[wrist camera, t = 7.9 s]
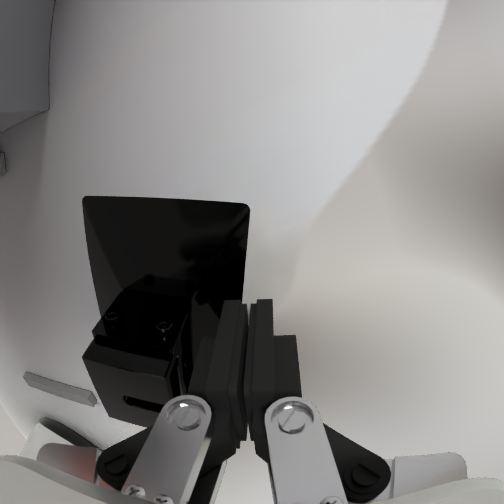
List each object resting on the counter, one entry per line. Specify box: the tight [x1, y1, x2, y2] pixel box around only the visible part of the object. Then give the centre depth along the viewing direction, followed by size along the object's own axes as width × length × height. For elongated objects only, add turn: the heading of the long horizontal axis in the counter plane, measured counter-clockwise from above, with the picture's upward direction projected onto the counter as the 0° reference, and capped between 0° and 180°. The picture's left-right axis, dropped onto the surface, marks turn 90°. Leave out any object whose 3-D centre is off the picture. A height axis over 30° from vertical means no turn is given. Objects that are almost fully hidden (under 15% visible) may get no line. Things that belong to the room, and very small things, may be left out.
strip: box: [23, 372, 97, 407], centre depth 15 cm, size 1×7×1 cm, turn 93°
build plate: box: [82, 196, 250, 428], centre depth 10 cm, size 12×7×5 cm, turn 175°
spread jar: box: [20, 418, 95, 460], centre depth 16 cm, size 12×11×12 cm
